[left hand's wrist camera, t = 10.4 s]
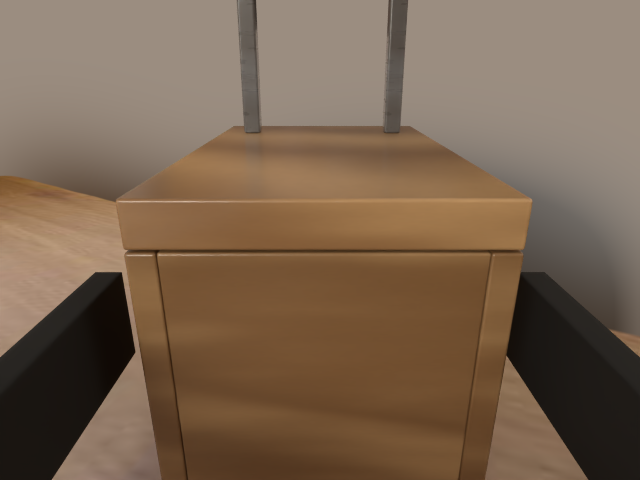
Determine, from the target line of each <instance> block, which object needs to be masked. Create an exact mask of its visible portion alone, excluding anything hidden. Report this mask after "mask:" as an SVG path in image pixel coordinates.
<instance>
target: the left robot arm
mask: <svg viewBox="0 0 640 480" xmlns="http://www.w3.org/2000/svg"><path fill="white" fill-rule="evenodd" d="M134 354H135V347H134V341H133V335H132V329H131V323H130V318H129V312H128V306H127V300H126V294H125V289H124V283H123V277H122V272H95V273H94V274H93V275H92V276H91V277H90V278H89V279H87V280H86V281H85V282H84V283H83V284H82V285H81V286H80V287H79V288H77V289H76V290H75V291H74V292H73V293H72V294H71V295H70V296H68V297H67V298H66V299H65V300H64V301H63V302H62V303H61V304H59V305H58V306H57V307H56V308H55V309H54V310H53V311H52V312H51V313H49V314H48V315H47V316H46V317H45V318H44V319H43V320H42V321H40V322H39V323H38V324H37V325H36V326H35V327H34V328H33V329H31V330H30V331H29V332H28V333H27V334H26V335H25V336H24V337H23V338H21V339H20V340H19V341H18V342H17V343H16V344H15V345H14V346H12V347H11V348H10V349H9V350H8V351H7V352H6V353H5V354H4V355H2V356H1V357H0V480H52V478H53V477H54V475H55V474H56V472H57V471H58V469H59V468H60V466H61V465H62V463H63V462H64V460H65V459H66V457H67V456H68V454H69V453H70V451H71V449H72V448H73V446H74V445H75V443H76V442H77V440H78V439H79V437H80V436H81V434H82V433H83V431H84V430H85V428H86V427H87V425H88V424H89V422H90V421H91V419H92V418H93V416H94V415H95V413H96V411H97V410H98V408H99V407H100V405H101V404H102V402H103V401H104V399H105V398H106V396H107V395H108V393H109V392H110V390H111V389H112V387H113V386H114V384H115V383H116V381H117V380H118V378H119V377H120V375H121V373H122V372H123V370H124V369H125V367H126V366H127V364H128V363H129V361H130V360H131V358H132V357H133V355H134ZM506 355H507V357H508V358H509V360H510V361H511V363H512V364H513V366H514V367H515V369H516V370H517V372H518V373H519V375H520V377H521V378H522V380H523V381H524V383H525V384H526V386H527V387H528V389H529V390H530V392H531V393H532V395H533V396H534V398H535V399H536V401H537V402H538V404H539V405H540V407H541V408H542V410H543V411H544V413H545V414H546V416H547V418H548V419H549V421H550V422H551V424H552V425H553V427H554V428H555V430H556V431H557V433H558V434H559V436H560V437H561V439H562V440H563V442H564V443H565V445H566V446H567V448H568V449H569V451H570V452H571V454H572V456H573V457H574V459H575V460H576V462H577V463H578V465H579V466H580V468H581V469H582V471H583V472H584V474H585V475H586V477H587V478H588V480H640V357H639V356H638V355H637V354H635V353H634V352H633V351H632V350H631V349H630V348H629V347H628V346H626V345H625V344H624V343H623V342H622V341H621V340H620V339H619V338H617V337H616V336H615V335H614V334H613V333H612V332H611V331H610V330H609V329H607V328H606V327H605V326H604V325H603V324H602V323H601V322H600V321H598V320H597V319H596V318H595V317H594V316H593V315H592V314H591V313H589V312H588V311H587V310H586V309H585V308H584V307H583V306H582V305H580V304H579V303H578V302H577V301H576V300H575V299H574V298H573V297H571V296H570V295H569V294H568V293H567V292H566V291H565V290H564V289H563V288H561V287H560V286H559V285H558V284H557V283H556V282H555V281H554V280H553V279H551V278H550V277H549V276H548V275H547V274H546V273H545V272H521V273H520V279H519V285H518V290H517V296H516V302H515V308H514V314H513V319H512V325H511V331H510V337H509V342H508V348H507V354H506Z"/></svg>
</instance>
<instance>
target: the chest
mask: <svg viewBox="0 0 640 480" xmlns="http://www.w3.org/2000/svg"><path fill="white" fill-rule="evenodd" d="M125 262H126V268H127V274H128V280H129V286H130V292H131V298H132V304H133V310H134V316H135V322H136V328H137V334H138V340H139V346H140V352H141V358H142V364H143V370H144V376H145V382H146V388H147V394H148V400H149V406H150V412H151V418H152V424H153V430H154V436H155V442H156V448H157V454H158V460H159V466H160V472H161V478H162V480H485V475H486V469H487V463H488V458H489V452H490V446H491V440H492V435H493V429H494V423H495V417H496V412H497V406H498V400H499V394H500V389H501V383H502V377H503V371H504V365H505V360H506V354H507V348H508V342H509V337H510V331H511V325H512V319H513V314H514V308H515V302H516V296H517V290H518V285H519V279H520V273H521V267H522V262H523V253H522V252H521V251H520V250H128V251H127V252H126V253H125Z"/></svg>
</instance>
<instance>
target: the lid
mask: <svg viewBox="0 0 640 480" xmlns="http://www.w3.org/2000/svg"><path fill="white" fill-rule="evenodd" d="M407 8H408V0H389V7H388V28H387V48H386V69H385V90H384V112H383V126H262V125H261V103H260V81H259V59H258V37H257V14H256V0H237V11H238V28H239V45H240V63H241V80H242V97H243V114H244V126H234V127H232V128H230V129H229V130H227V131H226V132H224V133H222V134H221V135H219V136H218V137H216V138H214V139H213V140H211V141H209V142H208V143H206V144H205V145H203V146H201V147H200V148H198V149H197V150H195V151H193V152H192V153H190V154H188V155H187V156H185V157H184V158H182V159H180V160H179V161H177V162H176V163H174V164H172V165H171V166H169V167H167V168H166V169H164V170H163V171H161V172H159V173H158V174H156V175H155V176H153V177H151V178H150V179H148V180H147V181H145V182H143V183H142V184H140V185H138V186H137V187H135V188H134V189H132V190H131V191H129V192H127V193H126V194H124V195H122V196H121V197H119V198H118V199H117V200H116V207H117V213H118V219H119V225H120V231H121V237H122V243H123V248H124V249H126V250H523V249H524V248H525V243H526V236H527V231H528V225H529V220H530V214H531V208H532V199H530V198H529V197H527V196H525V195H524V194H522V193H520V192H519V191H517V190H515V189H514V188H512V187H510V186H509V185H507V184H505V183H504V182H502V181H500V180H499V179H497V178H495V177H494V176H492V175H490V174H489V173H487V172H485V171H484V170H482V169H480V168H479V167H477V166H475V165H474V164H472V163H470V162H469V161H467V160H465V159H464V158H462V157H460V156H459V155H457V154H455V153H454V152H452V151H450V150H449V149H447V148H445V147H444V146H442V145H440V144H439V143H437V142H435V141H434V140H432V139H430V138H429V137H427V136H425V135H424V134H422V133H420V132H419V131H417V130H415V129H414V128H412V127H410V126H400V121H401V105H402V89H403V73H404V56H405V40H406V24H407Z"/></svg>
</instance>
